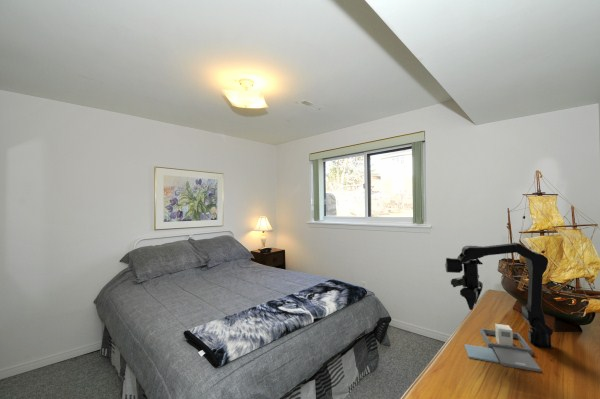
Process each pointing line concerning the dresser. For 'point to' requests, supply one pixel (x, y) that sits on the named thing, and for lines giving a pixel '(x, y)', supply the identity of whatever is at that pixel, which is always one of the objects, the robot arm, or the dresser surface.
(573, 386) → the dresser surface
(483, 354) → the mat
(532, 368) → the grey open frame
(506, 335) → the block
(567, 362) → the dresser surface
